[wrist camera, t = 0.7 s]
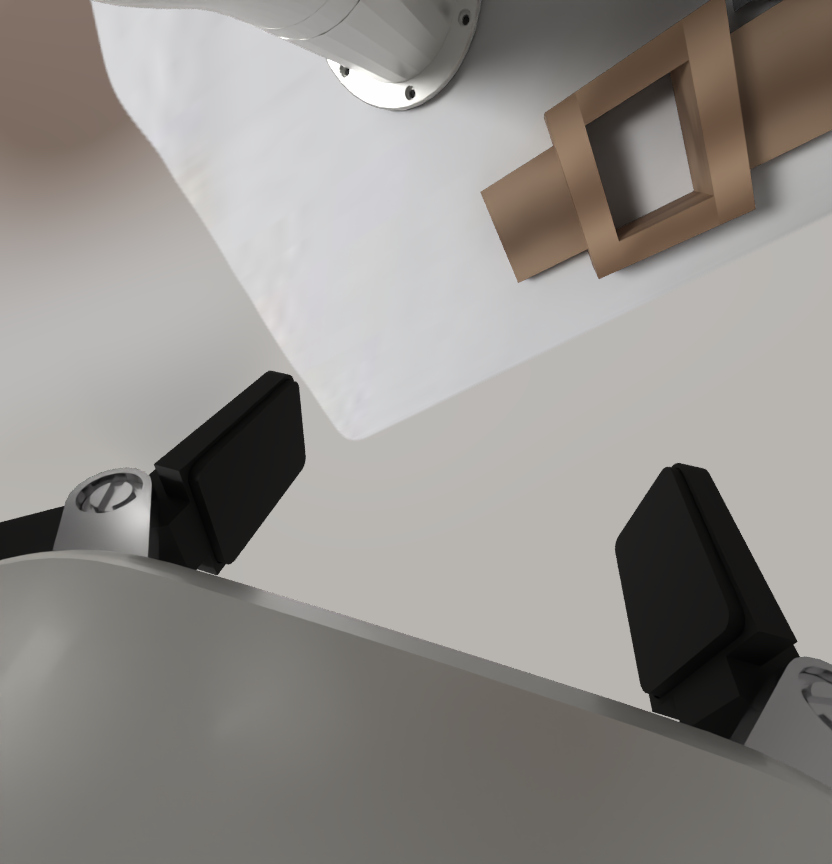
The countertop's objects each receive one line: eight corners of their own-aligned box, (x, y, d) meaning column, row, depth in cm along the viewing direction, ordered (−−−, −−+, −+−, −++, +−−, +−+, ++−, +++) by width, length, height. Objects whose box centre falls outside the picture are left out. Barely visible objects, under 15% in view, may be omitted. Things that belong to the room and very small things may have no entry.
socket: (473, 165, 33) (464, 167, 29) (821, -70, 22) (875, -113, 19) (527, 296, 37) (526, 311, 34) (835, 153, 27) (879, 153, 23)
